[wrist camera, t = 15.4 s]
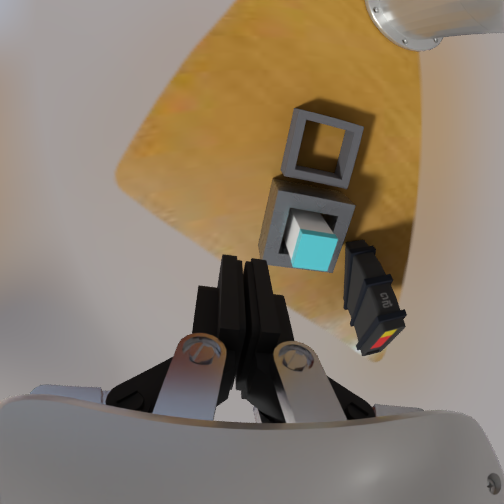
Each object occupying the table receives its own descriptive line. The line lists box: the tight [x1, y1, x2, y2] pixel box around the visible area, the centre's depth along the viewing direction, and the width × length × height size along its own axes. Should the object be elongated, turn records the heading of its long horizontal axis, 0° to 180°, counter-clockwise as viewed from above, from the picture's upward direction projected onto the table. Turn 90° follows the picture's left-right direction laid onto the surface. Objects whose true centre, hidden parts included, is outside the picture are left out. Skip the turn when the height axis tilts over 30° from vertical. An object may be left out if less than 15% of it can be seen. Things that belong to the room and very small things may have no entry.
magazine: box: [343, 240, 407, 356], centre depth 40 cm, size 4×13×15 cm, turn 8°
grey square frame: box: [281, 108, 364, 189], centre depth 34 cm, size 8×8×3 cm
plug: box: [283, 208, 338, 271], centre depth 36 cm, size 4×4×9 cm
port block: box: [258, 178, 356, 273], centre depth 38 cm, size 10×10×5 cm
